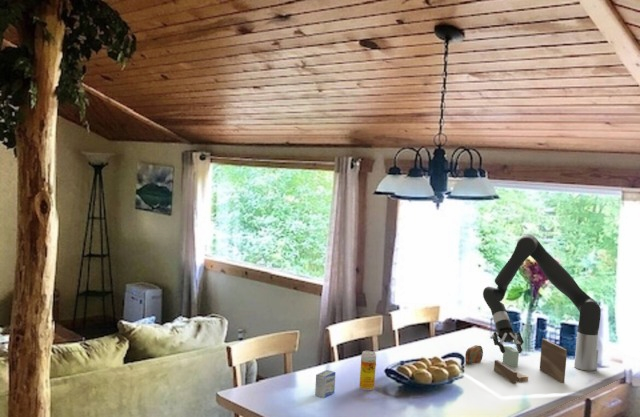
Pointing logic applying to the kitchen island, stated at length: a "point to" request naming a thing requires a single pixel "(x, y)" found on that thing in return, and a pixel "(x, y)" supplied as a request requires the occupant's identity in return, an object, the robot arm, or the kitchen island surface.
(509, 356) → the pale green block
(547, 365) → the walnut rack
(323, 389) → the medicine box
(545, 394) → the kitchen island surface
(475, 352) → the brown rounded slab
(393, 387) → the kitchen island surface
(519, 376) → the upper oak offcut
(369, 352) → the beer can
